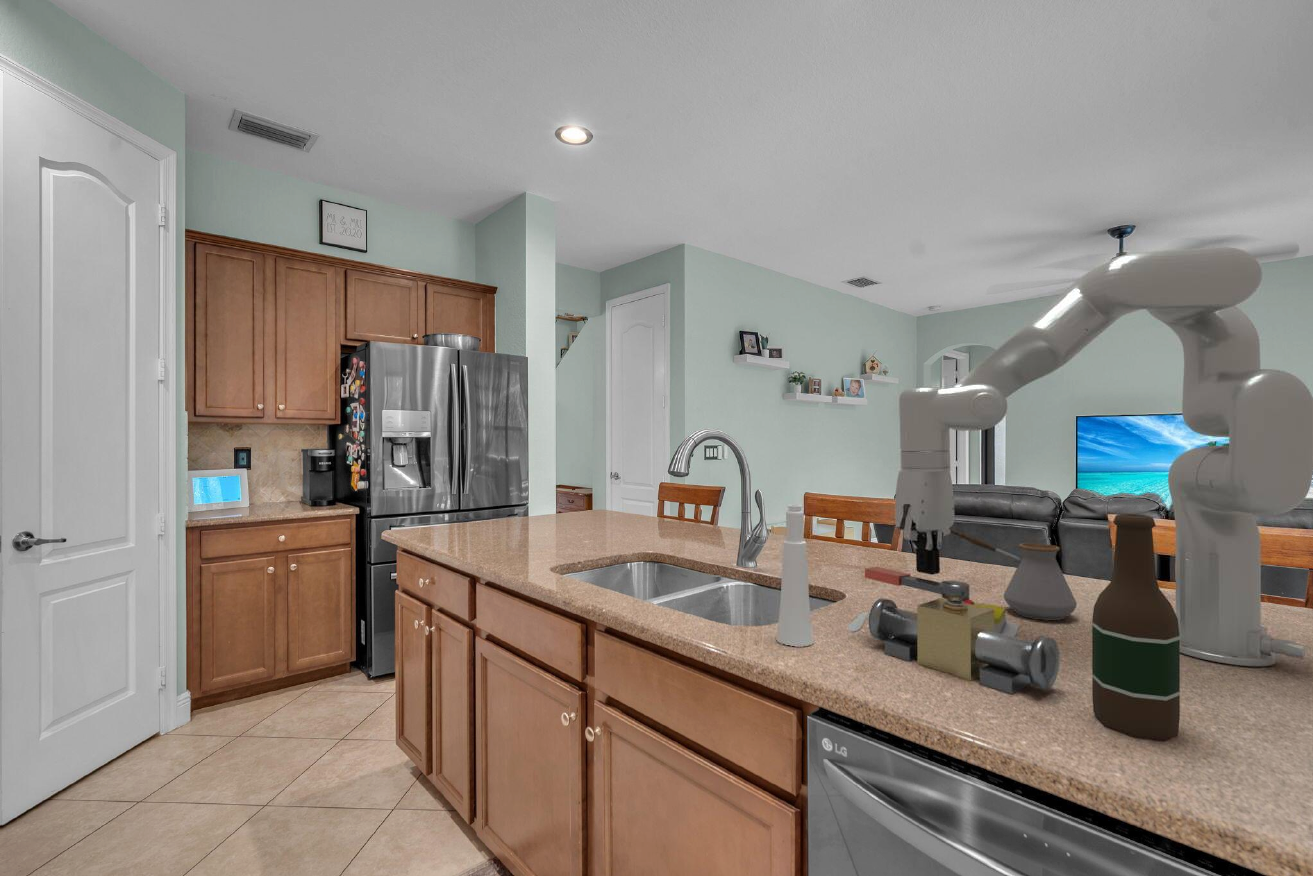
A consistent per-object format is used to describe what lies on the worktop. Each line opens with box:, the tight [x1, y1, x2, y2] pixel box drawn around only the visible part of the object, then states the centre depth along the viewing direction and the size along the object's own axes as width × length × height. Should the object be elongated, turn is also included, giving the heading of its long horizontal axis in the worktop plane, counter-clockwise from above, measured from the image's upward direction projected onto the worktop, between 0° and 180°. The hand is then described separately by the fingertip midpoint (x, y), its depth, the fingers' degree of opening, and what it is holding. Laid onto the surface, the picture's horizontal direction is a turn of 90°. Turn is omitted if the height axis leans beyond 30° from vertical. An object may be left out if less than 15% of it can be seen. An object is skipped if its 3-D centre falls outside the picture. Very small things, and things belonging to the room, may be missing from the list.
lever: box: [864, 566, 970, 601], centre depth 91 cm, size 4×16×2 cm, turn 31°
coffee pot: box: [946, 528, 1077, 621], centre depth 113 cm, size 21×12×15 cm, turn 61°
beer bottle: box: [1091, 513, 1181, 742], centre depth 68 cm, size 8×8×24 cm
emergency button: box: [935, 597, 1020, 638], centre depth 106 cm, size 9×4×15 cm
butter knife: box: [846, 611, 869, 633], centre depth 113 cm, size 1×27×3 cm
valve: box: [868, 597, 1060, 695], centre depth 85 cm, size 24×7×10 cm, turn 37°
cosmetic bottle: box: [775, 504, 815, 648], centre depth 96 cm, size 6×6×22 cm
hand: (928, 572), depth 99 cm, fingers closed
